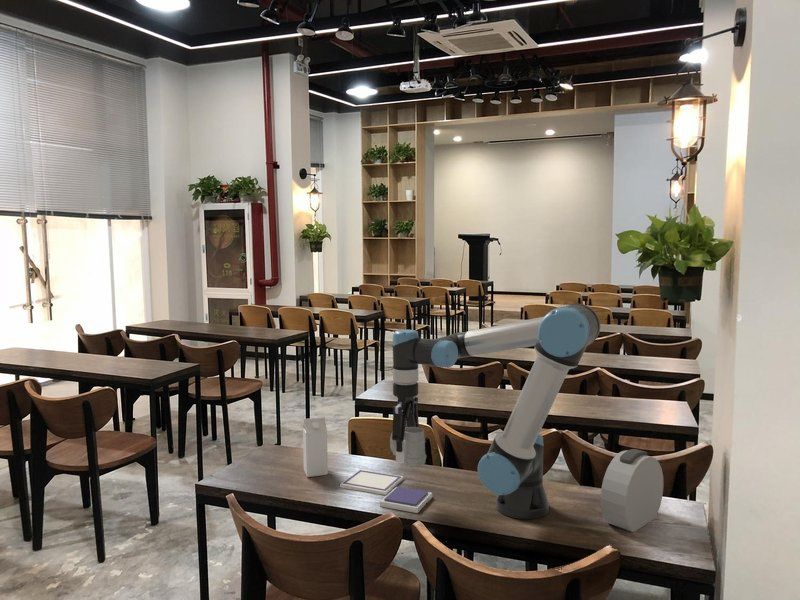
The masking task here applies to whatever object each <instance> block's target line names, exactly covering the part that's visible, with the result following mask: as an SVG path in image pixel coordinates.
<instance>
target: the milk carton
mask: <svg viewBox="0 0 800 600" xmlns="http://www.w3.org/2000/svg"><path fill="white" fill-rule="evenodd" d="M327 429H328V428H327V423H326V418H325V417H324V416H323V417H313V418H311V417H310V418H304V419H303V425H302V446H303V447H302V449H303V450H302V451H303V453H302V454H303V471H304V473H305V475H306V477H307V478H310V477H318V476H326V475H329V471H328V470H329V467H328V458H329V457H328V430H327Z"/></svg>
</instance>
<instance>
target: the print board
mask: <svg viewBox="0 0 800 600" xmlns="http://www.w3.org/2000/svg"><path fill="white" fill-rule="evenodd" d="M403 480H404V476H402V475H396V474H391V473H384V472H377V471H373V470H365V469H358V470H357V471H356V472H354V473H353V474H352V475H351V476H349V477H348V478H346V479H345V480H344V481H343V482H341V483H340V484H339V488H340V489H342V488H343V489H346V490H347V489H348V490H354V491H360V492H365V493H371V494H376V495H383V496H387V495H388V494H389V493H390V492H391V491H392V490H393V489H394V488H396V487H397V486H398V485H399V484H400V483H401V482H402V481H403Z"/></svg>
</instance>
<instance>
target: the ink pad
mask: <svg viewBox="0 0 800 600" xmlns="http://www.w3.org/2000/svg"><path fill="white" fill-rule="evenodd" d="M432 498H433V492H430V491H427V490H421V489H415V488H408V487H403V486H395V487H394V488H393V489H392V490H391V491H389V492H388V493H387V494H386V495H384V497H383V498H382V499H381V500H380V501H379V507H382V508H387V509H392V510H396V511H397V510H398V511H403V512H409V513H414V514H418V513H419V512H420V511H421V510H422V509H423V508H424V507H425V506H426V505H427V504H426V503H428V502H430V500H432Z"/></svg>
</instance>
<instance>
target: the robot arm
mask: <svg viewBox="0 0 800 600" xmlns="http://www.w3.org/2000/svg"><path fill="white" fill-rule="evenodd" d="M600 332H601V320H600V317H599V315H598V313H597V312H596V311H595V309H593V308H592V307H590V306H589V305H586V304H583V303H572V304H568V305H565V306H559V307H556V308H554V309H552V310H550V311H549V312H547V314H545V316H540V317H535V318H530V319H525V320H519V321H514V322H509V323H504V324H500V325H493V326H489V327H484V328H479V329H478V328H477V329H474V330H468V331H463V332H460V331H459V332H455V333H451V334H448V335H446V336H445V335H444V336H442V337H439V338H435V339H433V338H430V339H429V338H421V337H420V336H419V332H418V330H414V329H399V330H398V329H397V330H395V331H394V332H393V334H392V345H391V347H392V370H391V373H392V381H393V383H392V394H393V396H394V397H396V398H397V402H396V405H394V406H392V429H391V434H392V440H396V455H395V462H398V463H402V464H403V463H405V440H404V434H405V428H407V427H418V428H419V427H420V425H419V424H420V423H419V397H418V395H419V383H418V381H419V365H425V366H431V367H439V368H451V367H453V366H454V365H455V363H457V360H459V359H462V358H469V357H473V356H475V357H476V356H481V355H485V354H492V353H498V352H504V351H511V350H516V349H522V348H524V349H525V348H529V347H534V348H533V349H534V351H535V353H536V358H535V360H534V363H533V365H532V367H531V369H530V371H529V373H528V376H527V377H526V380H525V383H524V385H523V387H522V389H521V391H520V394H519V396H518V398H517V401H516V402H515V405H514V407H513V409H512V412H511V414H510V416H509V418H508V421H507V423H506V425H505V427H504V430H503V431H501V432H497V433H496V434H495V436H494V438H493V440H492V442H491V445H490V447H489V449H488V451H487V453H485V454H484V455H482V457H481V458H480V460H479V462H478V464H477V476H478V477H479V479H480V482H481V484H482V485H483V486H484V488H486V490H488V491H489V492H490V493H493V494H494V495H496V497H495V508H496V510H497V511H498V512H500V514H503V515H504V516H507V517H510V518H515V519H521V520H531V519H532V520H534V519H539V518H542V517H545V516H546V515H547V514H548V513H549V506H550V505H549V500H548V496H547V493H546V490H545V487H544V483H543V482H544V481H543V480H544V479H543V476H544V472H543V471H544V468H543V467H544V447H545V444H544V437H543V435H542V434H541V430H542V428H543V426H544V424H545V422H546V419H547V418H548V416H549V413H550V411H551V409H552V407H553V405H554V403H555V401H556V398H557V396H558V394H559V392H560V390H561V388H562V385H563V384H564V381H565V379H566V378H567V374H568V373H569V371H570V370H571V369H575V368H578V366H579V364H580V362H581V359H582V357H583V355H584V353H585V351H586V349H587V347H588V346H591V344H593V343H594V341H596V340H597V338H598V336H599V335H600Z"/></svg>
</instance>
